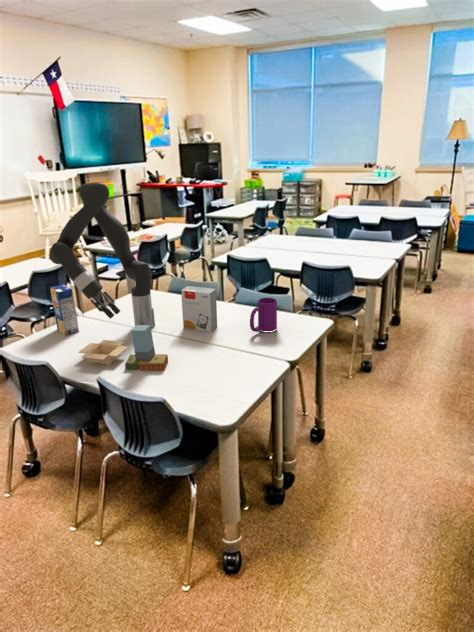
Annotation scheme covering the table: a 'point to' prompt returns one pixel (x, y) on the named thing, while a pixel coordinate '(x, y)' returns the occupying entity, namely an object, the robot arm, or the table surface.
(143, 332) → the slate box
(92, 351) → the kraft carton
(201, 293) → the hard drive box
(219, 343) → the table surface
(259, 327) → the mug
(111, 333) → the table surface
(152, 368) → the carton
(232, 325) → the table surface
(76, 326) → the beverage box
